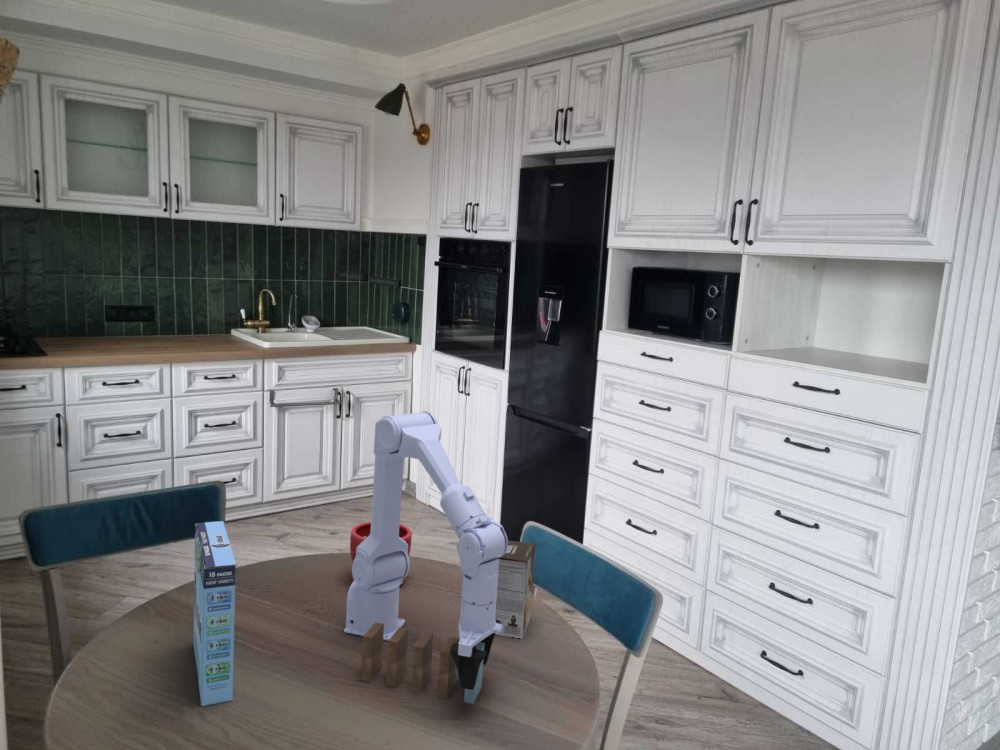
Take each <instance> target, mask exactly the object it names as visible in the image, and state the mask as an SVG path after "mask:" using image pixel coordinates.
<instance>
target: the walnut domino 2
mask: <svg viewBox="0 0 1000 750" xmlns="http://www.w3.org/2000/svg"><path fill="white" fill-rule="evenodd" d="M408 640H409V628H408V627H403V626H402V627H399V628H398V629H397V631H396V632H395V633H394V634H393V636H392V637H391V638H390V639H389V641H387V662H386V666H387V667H386V681H385V682H386V683H385V684H386V685H385V686H387V687H390V688H397V686H398V685H399V683H400V682H401V680H402V679H403V677H404V676H405V674H406V673H407V662H408V658H407V657H408V642H409V641H408Z"/></svg>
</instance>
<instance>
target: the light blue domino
mask: <svg viewBox="0 0 1000 750" xmlns="http://www.w3.org/2000/svg"><path fill="white" fill-rule="evenodd" d="M484 645H485V643H482V642H479V643H477V644H476V645H475V647H477V650H482V651H484ZM483 660H484V658H483ZM483 660H482V662H481V664H480V668H479V671H478V676H477V681H476V684H475V687H474V689H473V690H469V689H465V688H464V696H463V702H464V703H466V704H472V705H474V703H475V702H476V699H477V697H478V696H479V694H480V692H481V689H482V688H483V687H482V686H483V670H484V665H483Z"/></svg>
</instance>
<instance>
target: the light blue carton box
mask: <svg viewBox="0 0 1000 750" xmlns="http://www.w3.org/2000/svg"><path fill="white" fill-rule="evenodd" d="M236 568H237V563H236V558H235V556H234V551H233V548H232V545H231V542H230V539H229V535H228V532H227V529H226V525H225V522H224V521H223V520H220V521H205V522H198V523H195V524H194V568H193V569H194V573H193V574H194V579H193V582H194V584H193V585H194V586H193V587H194V588H193V589H194V591H193V592H194V593H193V649H194V650H193V651H194V656H195V657H194V658H195V664H196V665H195V666H196V672H197V678H198V689H199V696H200V706H201V707H203V708H204V707H207V706H213V705H218V704H223V703H228V702H232V701H233V700H234V697H233V695H234V654H235V653H234V651H235V649H234V647H235V646H234V645H235V609H236V608H235V607H236V606H235V604H236V603H235V602H236V601H235V600H236V574H237V572H236V570H237V569H236Z"/></svg>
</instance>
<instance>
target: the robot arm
mask: <svg viewBox="0 0 1000 750" xmlns="http://www.w3.org/2000/svg"><path fill="white" fill-rule="evenodd" d="M374 427H375V428H374V441H373V454H374V456H375V457H374V469H373V470H374V471H373V484H372V485H373V486H372V488H373V489H372V499H371V501H372V502H371V503H372V504H371V516H370V517H371V519H370V522H371V531H370V535H369V536H368V537H367V538H366V537H365V538H366V539H365V540H364V541H363V542H362V543H361V544H360V545H359V546H358V547H357V548H356V556H355V559H354V561H353V563H352V564H351V565H352V566H351V575H352V574H353V578H354V581H353V580H352V583H351V584H350V586H349V589H348V592H347V596H346V606H345V608H346V609H345V611H346V613H345V615H346V617H345V628H344V629H343V632H344V633H346V634H351V635H357V636H361V637H363V636H364V634H365V633H366V632H367V631H368V630H369V629H370V628H371V626H372V625H373V624H374V623H375V622H377V623H382V624H384V632H383V641H387V642H388V641H389V639H390V638H391V637H392V636H393V634H394V633H395V632H396V631H397V629H398V628H399V627H403V626H404V625H405V623H406V620H405V618H404V619H403V618H399V604H400V603H399V602H400V601H399V600H400V586H401V585H402V584H404V581H403V578H404V577H405V578H406V577H407V576H408V575H409V572H410V567H411V561H410V560H411V559H410V555H409V556H408V544H407V543H406V542H405V541H404V540H403V539H402V538H400V537H399V525H401V524H400V521H401V509H402V496H403V482H404V481H403V479H404V467H405V466H404V465H405V459H406V458H411V459H414V460H418V461H419V462H420V463H421V465H422V467H423V468H424V469H425V471H426V473H427V475H429V478H430V479H432V481H433V483H434V485H436V487H437V489H438V490H439V492H440V494H441V498H440V501H439V503H440V504H439V505H440V507H441V509H442V511H443V512H444V515H445V516H446V518H447V520H448V521H449V524H450V525H451V526H452V530H454V532H455V534H456V536H457V538H458V541H456V550H457V554H458V557H459V559H460V565H459V568H460V569H461V572H462V582H461V583H462V585H461V600H460V601H461V602H460V612H459V613H460V616H459V619H458V634H459V641H458V643H453V645H452V646H451V648H450V654H451V656H452V658H453V659H454V661H455V664H456V666H457V674H458V680H459V684H460V685H459V686H460V688H461V689H464V690H465V689H469V690H473V689H474V687H475V684H476V681H477V676H478V671H479V668H480V664H481V662H482V660H483V658H484V660H483V666H486V664H487V663H488V660H489V656H490V653H491V650H492V649H491V648H492V645H493V642H494V639H495V636H496V635H495V634H496V633H500V632H501V630H502V625H501V622H500V621H499V620H496V619H495V614H496V600H497V585H498V571H499V559H497V558H499V557H501V556H503V555H504V554H505V553H506V551H507V548H508V541H509V540H508V536H507V532H506V531H505V529H504V527H503V525H502V524H500V523H499V522H497V521H495V520H493V518H492V517H491V516H487V514H486V512H485V510H484V508H483V507H482V506H481V503H480V502H479V500H478V498H477V497H476V495H475V494H474V492H473V490H472V488H471V487H470V486H468V485H465V484H461V483H460V481H459V478H458V477H457V475H456V472H455V470H454V468H453V466H452V464H451V461H450V459H449V458H448V456H447V453H446V452H445V449H444V447H443V445H442V443H441V438H442V437H441V436H442V428H441V426H440V425H439V423H438V420H437V419H436V417H435V415H434V414H433V413H432V412H431V411H429V410H425V411H424V410H423V411H420V412H413V413H403V414H396V415H384V416H382V417H381V418H380V419H378V420H377V421H376V422H375V426H374ZM479 642H482V643H485V645H484V651H482V650H477V647H475V645H476V644H477V643H479Z"/></svg>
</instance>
